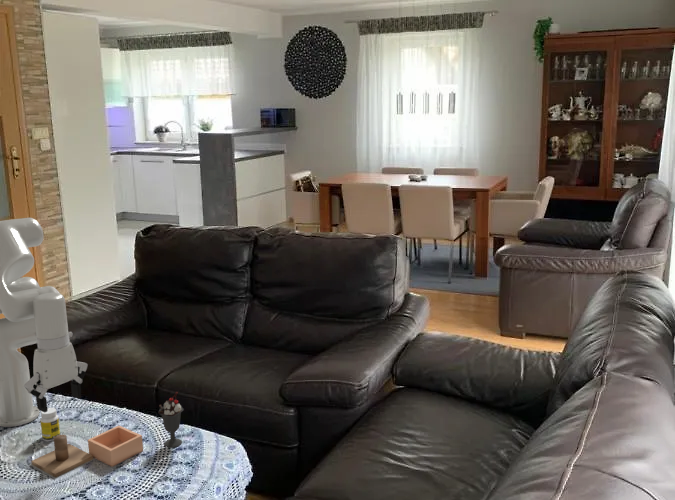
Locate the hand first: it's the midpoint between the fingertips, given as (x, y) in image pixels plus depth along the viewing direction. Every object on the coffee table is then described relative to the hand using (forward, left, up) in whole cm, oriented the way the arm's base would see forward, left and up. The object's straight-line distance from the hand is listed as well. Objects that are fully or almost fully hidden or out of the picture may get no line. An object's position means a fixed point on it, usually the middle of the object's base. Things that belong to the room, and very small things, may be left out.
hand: (60, 403), depth 175 cm
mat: (-1, 0, -17) cm, 17 cm away
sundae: (+15, +24, -17) cm, 33 cm away
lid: (-1, 0, -17) cm, 17 cm away
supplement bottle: (-16, +6, -17) cm, 24 cm away
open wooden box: (+7, +11, -17) cm, 21 cm away
